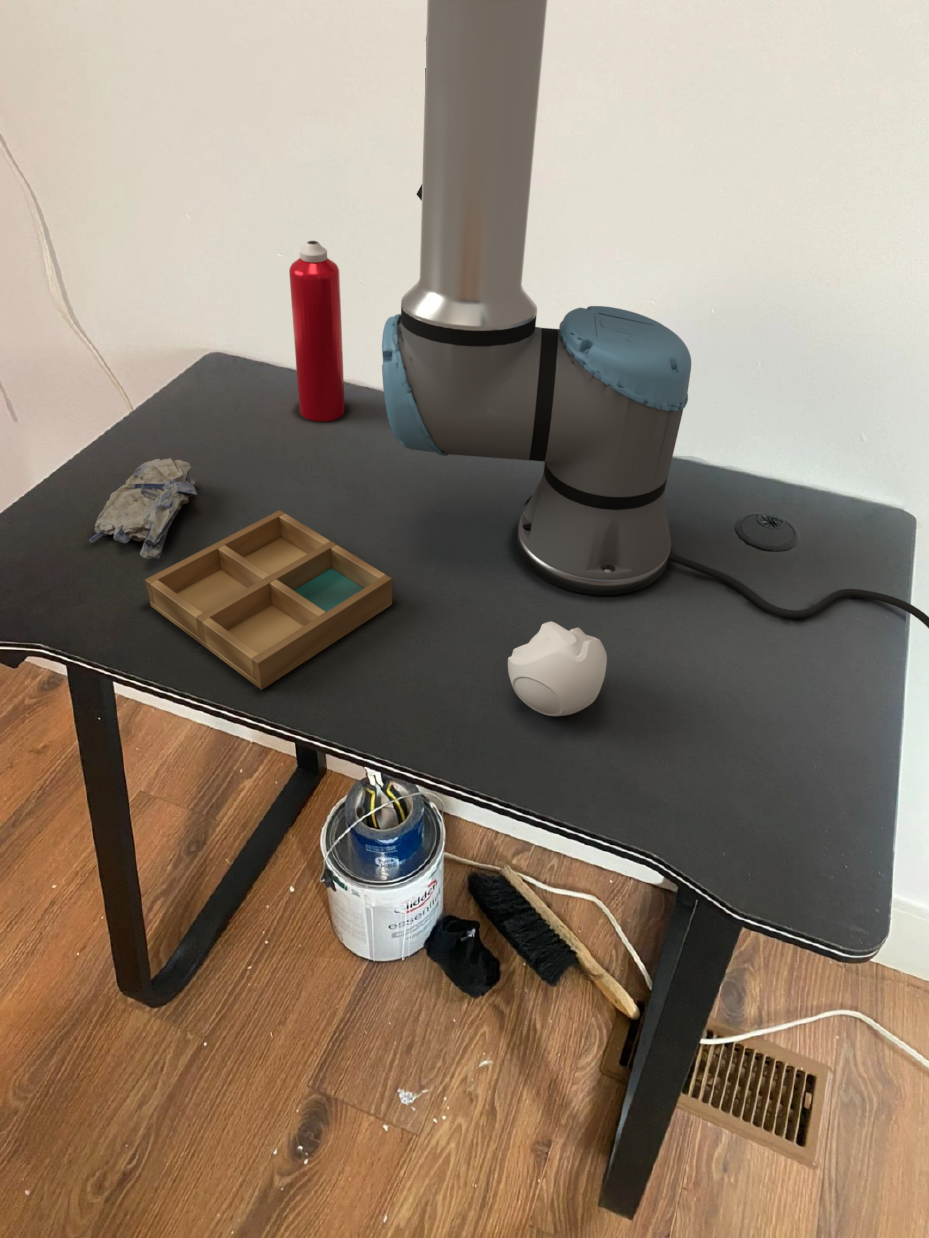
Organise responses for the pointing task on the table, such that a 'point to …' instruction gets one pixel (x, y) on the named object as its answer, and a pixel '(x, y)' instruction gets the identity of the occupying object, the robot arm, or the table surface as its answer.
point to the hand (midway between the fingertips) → (378, 188)
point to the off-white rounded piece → (558, 670)
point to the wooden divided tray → (269, 596)
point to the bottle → (317, 333)
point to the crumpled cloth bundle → (147, 505)
